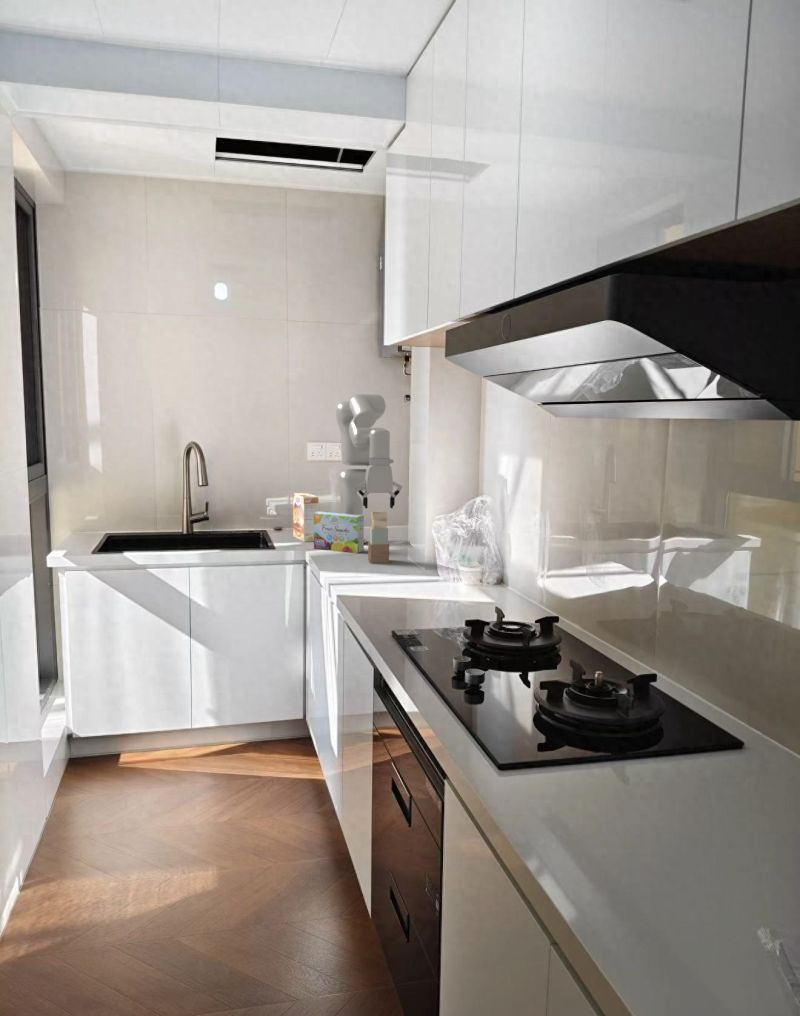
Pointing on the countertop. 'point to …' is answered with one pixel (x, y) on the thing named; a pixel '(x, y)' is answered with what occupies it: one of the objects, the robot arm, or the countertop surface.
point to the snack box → (339, 532)
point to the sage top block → (378, 536)
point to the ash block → (379, 520)
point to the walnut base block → (378, 553)
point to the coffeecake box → (304, 516)
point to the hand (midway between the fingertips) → (378, 507)
